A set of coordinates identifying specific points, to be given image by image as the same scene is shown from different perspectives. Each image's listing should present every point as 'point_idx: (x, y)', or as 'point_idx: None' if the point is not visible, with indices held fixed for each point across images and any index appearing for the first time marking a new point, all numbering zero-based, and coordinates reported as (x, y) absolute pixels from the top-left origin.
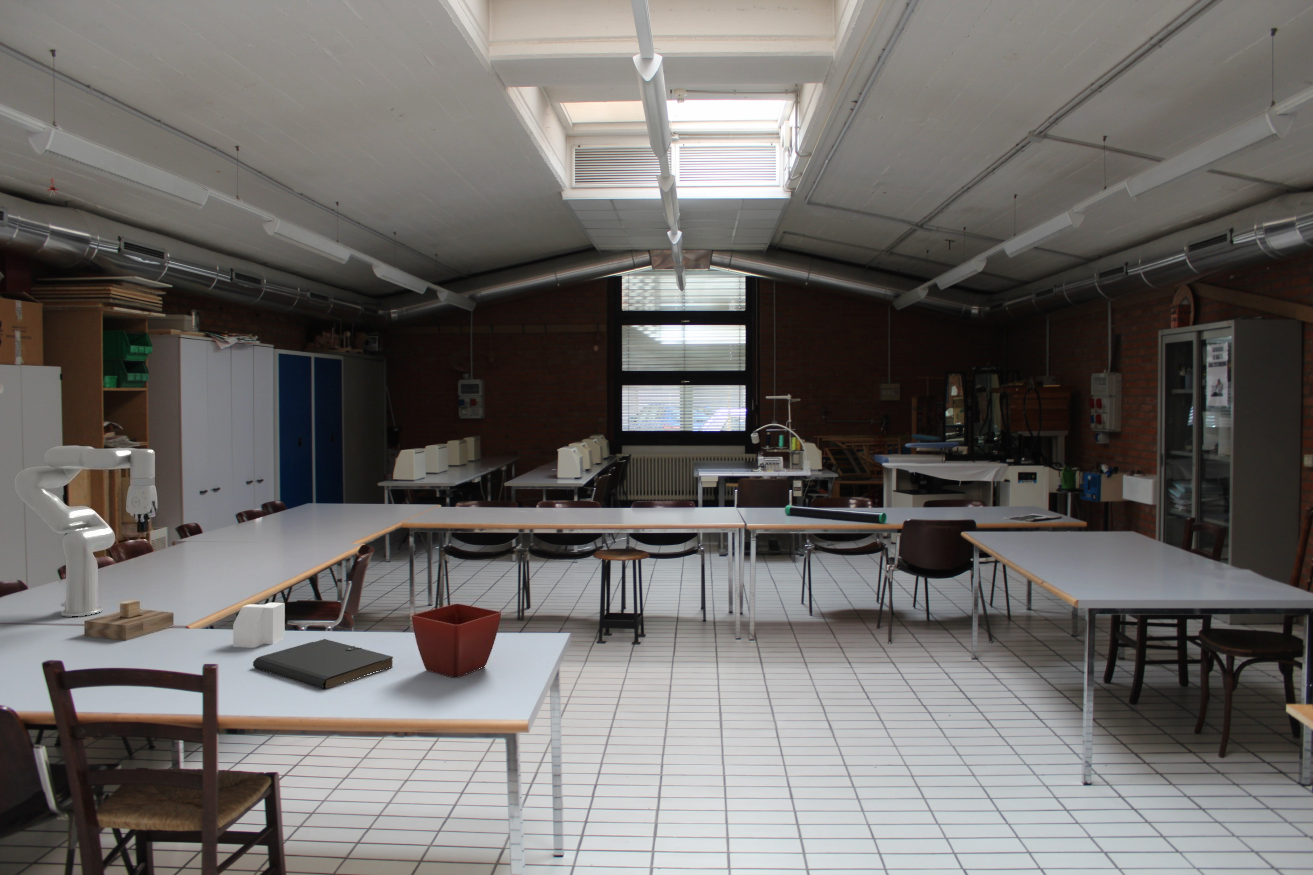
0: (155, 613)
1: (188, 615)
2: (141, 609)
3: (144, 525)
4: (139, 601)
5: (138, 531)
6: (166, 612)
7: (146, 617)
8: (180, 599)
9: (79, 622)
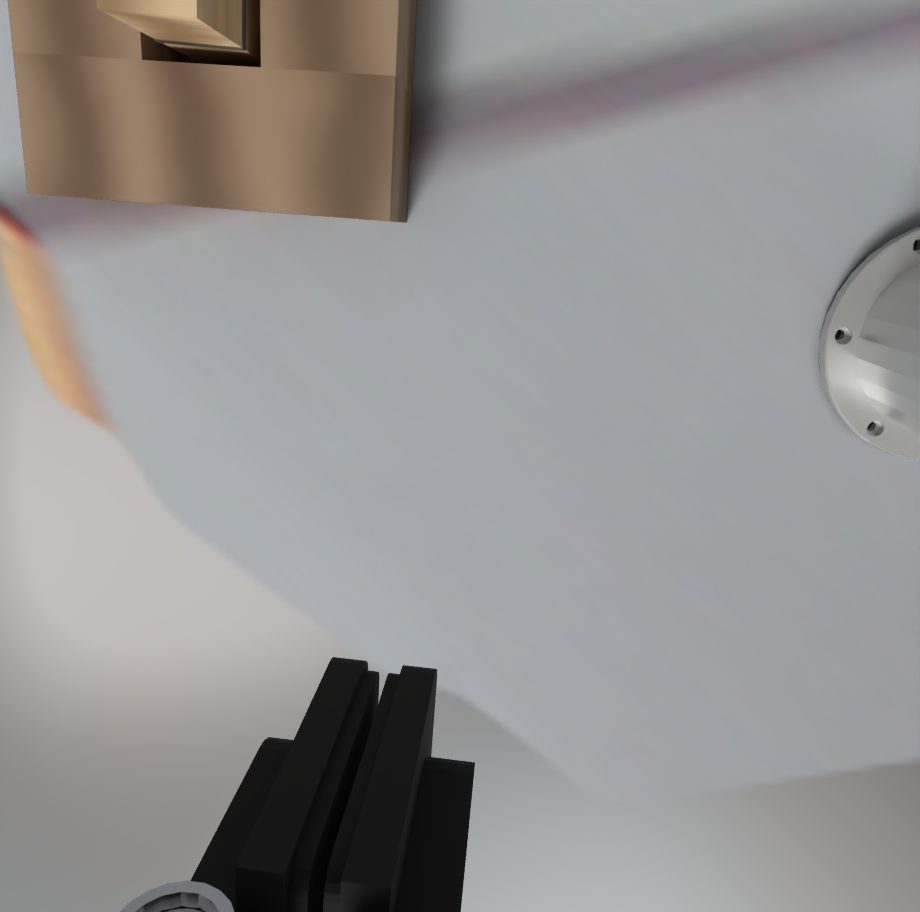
0: (114, 133)
1: (232, 448)
2: (308, 209)
3: (225, 832)
4: (97, 6)
5: (396, 678)
6: (72, 181)
7: (68, 8)
8: (587, 751)
9: (753, 119)
